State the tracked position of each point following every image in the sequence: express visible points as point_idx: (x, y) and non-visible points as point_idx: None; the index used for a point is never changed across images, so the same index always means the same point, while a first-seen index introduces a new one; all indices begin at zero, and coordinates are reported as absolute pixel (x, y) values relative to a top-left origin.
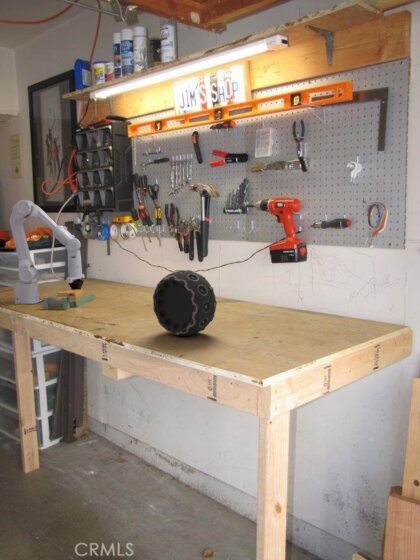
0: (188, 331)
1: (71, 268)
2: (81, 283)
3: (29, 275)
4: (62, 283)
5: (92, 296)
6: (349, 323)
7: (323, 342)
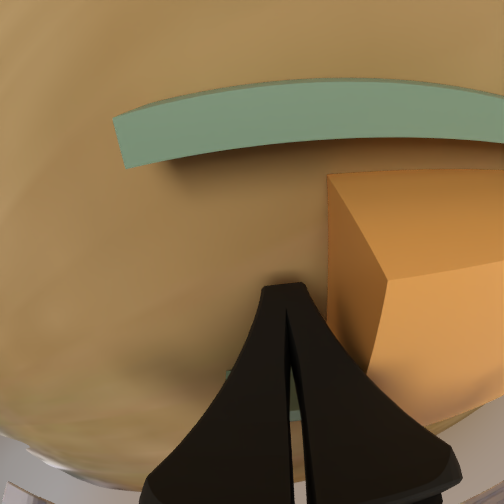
0: None
1: None
2: (275, 466)
3: None
4: (6, 428)
5: (206, 92)
6: None
7: None
